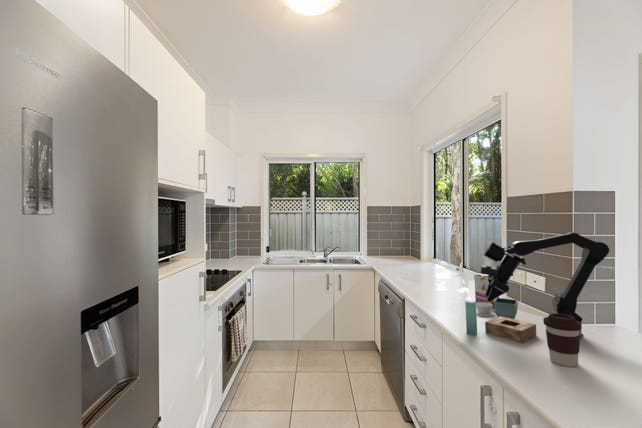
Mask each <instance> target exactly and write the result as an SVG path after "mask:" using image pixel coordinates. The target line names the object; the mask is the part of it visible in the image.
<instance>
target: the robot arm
mask: <svg viewBox="0 0 642 428" xmlns="http://www.w3.org/2000/svg"><path fill="white" fill-rule="evenodd" d="M568 244H573V245H575V246H578V247H579V248H581V249H582V250H581V251H582V252H581V261H580V262H579V264H578V266H577V268H576V269H575V272H574V274H572V277H571V279H570V280H569V282H568V283H567V284H568V285H567V286H566V288H565V290H564V291H563V292H562V293H560V294H559V293H555V295H554V298H553V299H552V300H551V303H552V304H551V307H552V309H553V310H554V311H555V313H559V314H566V315H570V316H573V317H574V318H575V319H576V321H578V322H580V323H581V324H582V322H583V318H582V317H581V316H580V315H579V313H577V312H576V310H577V304H578V298H579V296H580V294H581V292H582V290H583V288H584V287H585V285H586V284H587V281H588V279H589V278H590V276H591V274H592V273H593V271H594V269H595V267H596V266H597V265H599V263H601V262H602V261H603V260H604V259H605V258H606V257H607V256H608V254H609V253H610V247H609V246H608V244H607V243H604V242H601V241H597V240H596V241H595V240H592V239H589V238H588V237H587V238H586V237H584V236H583V235H580V234H579V233H577V232H572V231H570V232H567V233H563V234H558V235H554V236H549V237H544V238H540V239H532V240H530V239H528V240H527V239H526V240H525V239H524V240H516V241H513V242H512V243H511V244H510V245H508V246H506V247H502V246H501V245H499V244H496V243H495V242H493V241H492V242H491V243H490V244H489V246H488V247H486V249H485V251H484V253H483V256H484V257H486V258H488V259H490V260H492V261H494V262H495V263H497V262H500V264H498V265H496V267H493V266H491V265H490V266H489V265H482V264H481V266H480V271H479V272H480V273H481V274H487V275H488V278H487V279H488V281H489V285H488V288H487V291H486V294H485V295H486V296H488V299H487V301H489V302H490V301H492V300H493V299H495V298H497V297H499V298H500V296H503V295H504V294H507V293H508V292H509V291H510V286H509V285H508V284H509V280H510V279H511V277H513V276H514V272H515V271H516V269H517V268H518V266H520V265H519V264H520V263H521V264H522V265H525V266H526V265H527V263H526V260H525V256H526V255H530V254H532V253H535V252H536V251H539V250H543V249H547V248H548V249H549V248H553V247H558V246H563V245H568ZM489 278H490V279H489ZM579 334H580V339H581V338H582V337H583V336H584V334H583V333H582V329H581V330H579Z"/></svg>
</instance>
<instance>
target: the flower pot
mask: <svg viewBox="0 0 642 428" xmlns="http://www.w3.org/2000/svg"><path fill="white" fill-rule="evenodd" d="M518 305H519V300H518V299H511V298H503V297H499V298H496V300H495V301H494V306H495V308H494V312H495V313H496V315H495V316H496V317H499V316H502V317H506V318H511V319H515V318H516V316H517V313H518V307H519V306H518ZM515 320H516V319H515Z"/></svg>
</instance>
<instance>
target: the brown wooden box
mask: <svg viewBox="0 0 642 428" xmlns="http://www.w3.org/2000/svg"><path fill="white" fill-rule="evenodd" d="M484 331H485V334H489V335H492V336H496V337H499V338H502V339H506V340H510V341H513V342H517V343H521V344H523V343H524V344H525V342H527V341H529V340H531V339H533V338H535V337H537V324H536V323H532V322H527V321H525V320H519V319H511V318H506V317H502V316H499V317H497V316H496V317H494V318H492V319H489V320H487V321H484Z"/></svg>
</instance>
